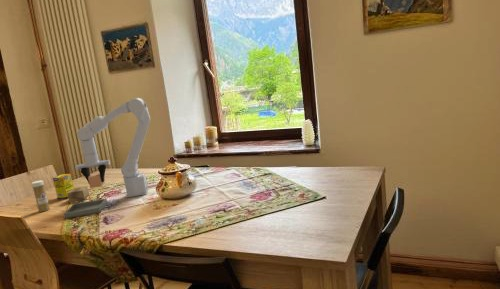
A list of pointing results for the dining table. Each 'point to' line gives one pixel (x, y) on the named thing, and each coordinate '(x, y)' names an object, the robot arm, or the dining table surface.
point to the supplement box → (63, 185)
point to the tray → (85, 208)
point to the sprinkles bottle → (40, 195)
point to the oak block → (78, 194)
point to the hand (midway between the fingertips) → (96, 182)
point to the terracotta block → (95, 180)
